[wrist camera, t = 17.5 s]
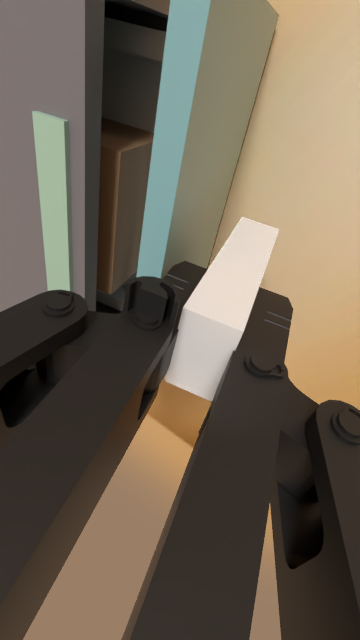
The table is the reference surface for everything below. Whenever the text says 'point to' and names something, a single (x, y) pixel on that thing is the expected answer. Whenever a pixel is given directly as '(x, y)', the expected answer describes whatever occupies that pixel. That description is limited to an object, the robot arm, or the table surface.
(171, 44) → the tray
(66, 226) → the housing
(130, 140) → the walnut block
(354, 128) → the table surface
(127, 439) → the robot arm
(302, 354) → the table surface
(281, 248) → the table surface
